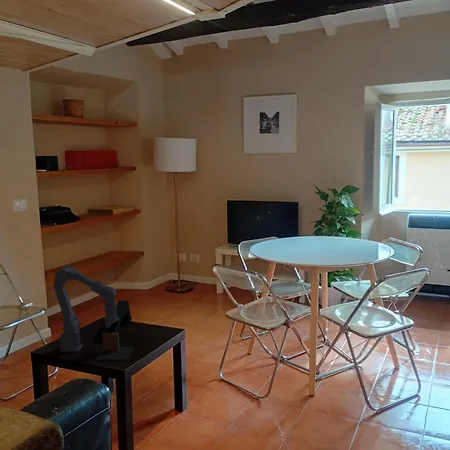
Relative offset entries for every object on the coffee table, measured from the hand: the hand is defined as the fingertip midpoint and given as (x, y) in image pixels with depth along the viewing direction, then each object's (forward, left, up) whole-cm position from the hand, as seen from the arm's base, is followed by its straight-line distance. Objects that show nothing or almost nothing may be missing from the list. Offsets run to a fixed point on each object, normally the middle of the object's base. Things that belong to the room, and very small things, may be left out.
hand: (112, 336), depth 251 cm
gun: (-4, +27, -7) cm, 28 cm away
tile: (0, -3, -6) cm, 7 cm away
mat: (+3, -7, -7) cm, 10 cm away
